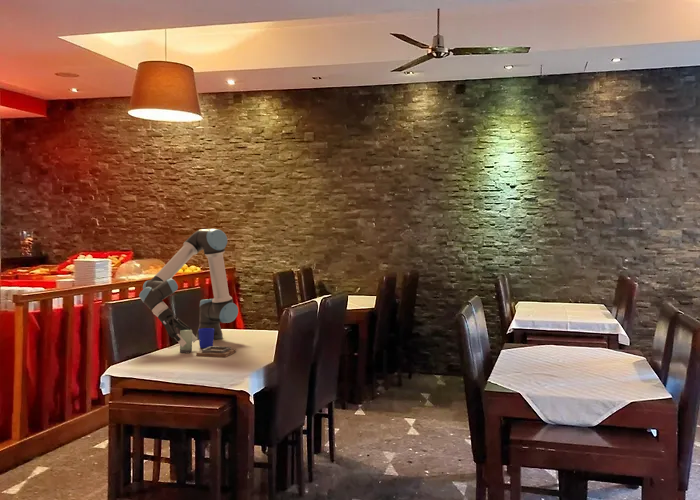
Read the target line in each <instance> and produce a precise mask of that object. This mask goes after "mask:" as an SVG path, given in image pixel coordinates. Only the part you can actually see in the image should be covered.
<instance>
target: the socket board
mask: <svg viewBox="0 0 700 500" xmlns="http://www.w3.org/2000/svg"><path fill="white" fill-rule="evenodd" d="M236 350H237V349H236V348H232V347H230V346H214V345H213V346H210V347H208V348H205V349H204V348H202V349H201V350H200V351H197V352H195V353H196V357H214V358H216V357H217V358H226V357H228V356H229V357H230V356H231V355H233V354H235V353H236V352H237V351H236Z"/></svg>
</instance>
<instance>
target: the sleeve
mask: <svg viewBox="0 0 700 500" xmlns="http://www.w3.org/2000/svg"><path fill="white" fill-rule="evenodd" d="M192 333H193V330H192V329H190V330H180V329H179V335H180V336H181V337H182V338H183V340H184V341H185V342H186V344H185V345H184V346H183V347H182V346H181V345H180V344H179V353H180V354H190V353H192V352H193V341H192Z"/></svg>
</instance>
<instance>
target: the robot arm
mask: <svg viewBox="0 0 700 500" xmlns="http://www.w3.org/2000/svg"><path fill="white" fill-rule="evenodd" d="M227 245H228V237H227V234H226V233H225V232H224V231H223V230H222V229H217V228H201V229H198V230H196V231H194V232H193V233H192V234H191V235H190V236H189V237H187V239H186V240H185V241H184V242H183V244H182V247H181V248H179V250H178V251H177V252H176V253H175V254H174V255H173V256H172V257H171V259H169V260H168V261H167V263H166V264H165V265H164V266H162V268H161V269H160V270H159V271H158V272H157V273H156V274H155V275H154V277H152V278H151V279H149V280H146V281H145V282H144V283H143V285H142V290H141V291H140V293H139V294H138V297H139V299H140V300H141V301H142V303H144V305H146V307H147V308H148V309H149V310H150V311H151V312H152V314H153V315H155V317H157V319H158V320H159V321H160V322H161V324H162V325H163V326H164V328H165V330H166V332H167V334H168V336H169V337H170V338H171V339H173V338H174V339H175V341H176V342H178V344H179V346H180V345H181V346H182V347H183V346H184V345H185V344H186V342H185V341H184V340H183V338H182V337H181V336H180V333H177V330H176V328H177V329H178V330H179V331H180V330H192V328H191V327H190V326H189V325H188V324H186V323H185V322H183V320H181V319H180V318H179V317H178V316H175V317H174V312H173V311H172V309H171V308H169V306H168V305H167V304H166V303H165V302H164V300H165V299H166V298H168V297H169V296H171V295H173V294H174V293H176V292H177V291H178V288H179V285H178V283H177V281H176V280H175V279H173V277H175V275H176V274H177V273H179V271H180V270H181V269H182V268H183V267H184V266H185V265H186V263H188V261H190V259H191V258H192V257H193V256H195V255H198V253H199V252H201V251H203V254H204V255H205V257H206V258H207V261H208V267H209V274H210V281H211V286H212V287H211V288H212V294H213V298H209V299H208V298H207V299H201V300H200V301H199V325H198V329H197V331H196V335H195V334H194V333H193V332H192V344H194V343H195V342H196V341H198V340H199V329H201V328H213V329H214V338H213V341H214V340H220V339H223V337H224V335H223V331H222V328H221V325H220V324H226V323H227V324H228V323H229V324H230V323H233V322H234V321H235V320H236V318H237V317H238V314H239V307H238V305H237V304H235V303H234V299H233V297H232V296H231V295H230V293H229V292H230V291H229V287H228V286H229V285H228V278H227V272H226V265H225V260H224V254H225V252H226V249H225V248H226V247H227Z"/></svg>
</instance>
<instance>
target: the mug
mask: <svg viewBox="0 0 700 500" xmlns="http://www.w3.org/2000/svg"><path fill="white" fill-rule="evenodd" d="M213 338H214V329H213V328H201V329H199V339H198V341H199V342H198V344H199V348H200V349H205V348H208V347H210V346H213V347H214V340H213Z"/></svg>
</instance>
